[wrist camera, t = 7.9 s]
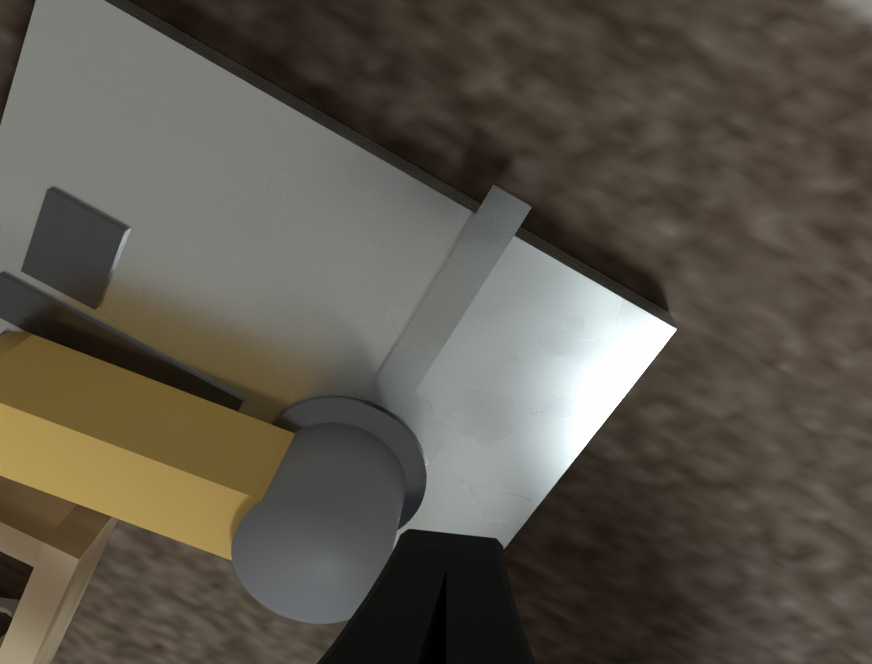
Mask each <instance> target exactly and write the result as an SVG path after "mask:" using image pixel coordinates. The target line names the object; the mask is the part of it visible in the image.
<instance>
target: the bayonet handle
mask: <svg viewBox="0 0 872 664" xmlns="http://www.w3.org/2000/svg"><path fill="white" fill-rule="evenodd" d="M0 476H3V477H5V478H8V479H11V480H13V481H16V482H19V483H22V484H24V485H27V486H30V487H33V488H35V489H38V490H41V491H44V492H46V493H49V494H52V495H54V496H57V497H60V498H63V499H65V500H68V501H71V502H74V503H76V504H79V505H82V506H84V507H87V508H90V509H93V510H95V511H98V512H101V513H104V514H106V515H109V516H112V517H115V518H117V519H120V520H123V521H125V522H128V523H131V524H134V525H136V526H139V527H142V528H145V529H147V530H150V531H153V532H155V533H158V534H161V535H164V536H166V537H169V538H172V539H175V540H177V541H180V542H183V543H186V544H188V545H191V546H194V547H196V548H199V549H202V550H205V551H207V552H210V553H213V554H216V555H218V556H221V557H224V558H226V559H229V560H232V563H233V567H234V570H235V572H236V575H237V577H238V579H239V580H240V582H241V584H242V585H243V586H244V588H245V589H246V590H247V591H248V592H249V594H250V595H251V596H252V597H253V598H255V599H256V600H257V601H258V602H259V603H261V604H262V605H263V606H265V607H266V608H268V609H269V610H271V611H273V612H275V613H277V614H279V615H282V616H284V617H286V618H289V619H293V620H296V621H301V622H305V623H314V624H328V623H336V622H341V621H345V620H348V619H351V617H352V616H353V615H354V613H355V612H356V610H357V609H358V607H359V606H360V604H361V603H362V602H363V600H364V599H365V597H366V596H367V594H368V592H369V591H370V589H371V588H372V586H373V584H374V583H375V581H376V580H377V578H378V576H379V575H380V573H381V571H382V570H383V568H384V566H385V564H386V563H387V561H388V559H389V557H390V555H391V553H392V551H393V546H394V542H395V538H396V533H397V529H398V525H399V520H400V516H401V512H402V507H403V503H404V499H405V493H406V479H405V474H404V471H403V468H402V465H401V463H400V461H399V459H398V458H397V456H396V455H395V453H394V452H393V451H392V450H391V449H390V447H389V446H387V445H386V444H385V443H384V442H383V441H382V440H381V439H379V438H378V437H377V436H375V435H373V434H372V433H370V432H368V431H366V430H364V429H361V428H359V427H356V426H352V425H348V424H343V423H319V424H314V425H310V426H307V427H304V428H302V429H300V430H298V431H296V432H295V433H292V432H290V431H287V430H284V429H282V428H279V427H276V426H274V425H271V424H269V423H266V422H263V421H261V420H258V419H255V418H253V417H250V416H247V415H245V414H242V413H239V412H237V411H234V410H232V409H229V408H226V407H224V406H221V405H218V404H216V403H213V402H210V401H208V400H205V399H203V398H200V397H197V396H195V395H192V394H189V393H187V392H184V391H181V390H179V389H176V388H174V387H171V386H168V385H166V384H163V383H160V382H158V381H155V380H152V379H150V378H147V377H144V376H142V375H139V374H137V373H134V372H131V371H129V370H126V369H123V368H121V367H118V366H115V365H113V364H110V363H108V362H105V361H102V360H100V359H97V358H94V357H92V356H89V355H86V354H84V353H81V352H78V351H76V350H73V349H71V348H68V347H65V346H63V345H60V344H57V343H55V342H52V341H49V340H47V339H44V338H42V337H39V336H36V335H34V334H31V333H27V332H21V331H13V332H8V333H5V334H3V335H1V336H0Z"/></svg>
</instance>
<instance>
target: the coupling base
mask: <svg viewBox="0 0 872 664" xmlns="http://www.w3.org/2000/svg"><path fill="white" fill-rule="evenodd" d="M531 208H532V206H531V205H530V204H528V203H526V202H524V201H523V200H521V199H519V198H518V197H516V196H514V195H512V194H511V193H509V192H507V191H506V190H504V189H502V188H500V187H499V186H497V185H495V184H493V185H492V187H491V189H490V190H489V192H488V194H487V195H486V197H485V199H484V200H483V202H482V203H479V202H477V201H476V200H474V199H472V198H470V197H469V196H467V195H465V194H463V193H462V192H460V191H458V190H456V189H455V188H453V187H451V186H450V185H448V184H446V183H444V182H443V181H441V180H439V179H437V178H436V177H434V176H432V175H430V174H429V173H427V172H425V171H423V170H422V169H420V168H418V167H417V166H415V165H413V164H411V163H410V162H408V161H406V160H404V159H403V158H401V157H399V156H397V155H396V154H394V153H392V152H391V151H389V150H387V149H385V148H384V147H382V146H380V145H378V144H377V143H375V142H373V141H371V140H370V139H368V138H366V137H365V136H363V135H361V134H359V133H358V132H356V131H354V130H352V129H351V128H349V127H347V126H345V125H344V124H342V123H340V122H338V121H337V120H335V119H333V118H332V117H330V116H328V115H326V114H325V113H323V112H321V111H319V110H318V109H316V108H314V107H312V106H311V105H309V104H307V103H306V102H304V101H302V100H300V99H299V98H297V97H295V96H293V95H292V94H290V93H288V92H286V91H285V90H283V89H281V88H280V87H278V86H276V85H274V84H273V83H271V82H269V81H267V80H266V79H264V78H262V77H260V76H259V75H257V74H255V73H253V72H252V71H250V70H248V69H247V68H245V67H243V66H241V65H240V64H238V63H236V62H234V61H233V60H231V59H229V58H227V57H226V56H224V55H222V54H221V53H219V52H217V51H215V50H214V49H212V48H210V47H208V46H207V45H205V44H203V43H201V42H200V41H198V40H196V39H195V38H193V37H191V36H189V35H188V34H186V33H184V32H182V31H181V30H179V29H177V28H175V27H174V26H172V25H170V24H168V23H167V22H165V21H163V20H162V19H160V18H158V17H156V16H155V15H153V14H151V13H149V12H148V11H146V10H144V9H142V8H141V7H139V6H137V5H136V4H134V3H132V2H130V1H129V0H36V1H35V5H34V8H33V12H32V16H31V19H30V23H29V26H28V30H27V33H26V37H25V40H24V44H23V47H22V51H21V54H20V58H19V61H18V65H17V68H16V72H15V75H14V79H13V82H12V86H11V89H10V93H9V97H8V100H7V104H6V107H5V111H4V114H3V118H2V121H1V125H0V336H1V335H3V334H5V333H8V332H13V331H21V332H27V333H31V334H34V335H36V336H39V337H42V338H44V339H47V340H49V341H52V342H55V343H57V344H60V345H63V346H65V347H68V348H71V349H73V350H76V351H78V352H81V353H84V354H86V355H89V356H92V357H94V358H97V359H100V360H102V361H105V362H108V363H110V364H113V365H115V366H118V367H121V368H123V369H126V370H129V371H131V372H134V373H137V374H139V375H142V376H144V377H147V378H150V379H152V380H155V381H158V382H160V383H163V384H166V385H168V386H171V387H174V388H176V389H179V390H181V391H184V392H187V393H189V394H192V395H195V396H197V397H200V398H203V399H205V400H208V401H210V402H213V403H216V404H218V405H221V406H224V407H226V408H229V409H232V410H234V411H237V412H239V413H242V414H245V415H247V416H250V417H253V418H255V419H258V420H261V421H263V422H266V423H269V424H271V425H274V426H276V427H279V428H282V429H284V430H287V431H290V432H292V433H295V432H296V431H298V430H300V429H302V428H304V427H307V426H310V425H314V424H319V423H343V424H348V425H352V426H356V427H359V428H361V429H364V430H366V431H368V432H370V433H372V434H373V435H375V436H377V437H378V438H379V439H381V440H382V441H383V442H384V443H385V444H386V445H387V446H389V447H390V449H391V450H392V451H393V452H394V453H395V455H396V456H397V458H398V459H399V461H400V463H401V465H402V468H403V471H404V474H405V479H406V493H405V499H404V503H403V507H402V512H401V516H400V520H399V525H398V529H397V533H396V538H395V542H394V546H393V549H394V548H395V545H396V543H397V541H398V539H399V536H400V534H402V533H403V532H405V531H406V530H407V529H418V530H427V531H436V532H445V533H454V534H463V535H472V536H481V537H490V538H497V540H498V541H499V542H500V543H501V544H502V545H503V548H504V549H505V547H506V546H507V545H508V544H509V542H510V541H511V540H512V539H513V537H514V536H515V535H516V533H517V532H518V531H519V530H520V528H521V527H522V526H523V525H524V523H525V522H526V521H527V520H528V518H529V517H530V516H531V514H532V513H533V512H534V511H535V509H536V508H537V507H538V506H539V504H540V503H541V502H542V500H543V499H544V498H545V497H546V495H547V494H548V493H549V492H550V490H551V489H552V488H553V486H554V485H555V484H556V483H557V481H558V480H559V479H560V478H561V476H562V475H563V474H564V472H565V471H566V470H567V469H568V467H569V466H570V465H571V464H572V462H573V461H574V460H575V458H576V457H577V456H578V455H579V453H580V452H581V451H582V450H583V448H584V447H585V446H586V444H587V443H588V442H589V441H590V439H591V438H592V437H593V436H594V434H595V433H596V432H597V430H598V429H599V428H600V427H601V425H602V424H603V423H604V422H605V420H606V419H607V418H608V416H609V415H610V414H611V413H612V411H613V410H614V409H615V408H616V406H617V405H618V404H619V402H620V401H621V400H622V399H623V397H624V396H625V395H626V394H627V392H628V391H629V390H630V388H631V387H632V386H633V385H634V383H635V382H636V381H637V380H638V378H639V377H640V376H641V375H642V373H643V372H644V371H645V369H646V368H647V367H648V366H649V364H650V363H651V362H652V361H653V359H654V358H655V357H656V355H657V354H658V353H659V352H660V350H661V349H662V348H663V347H664V345H665V344H666V343H667V341H668V340H669V339H670V338H671V336H672V335H673V334H674V333H675V331H676V330H677V328H676V326H675V323H674V321H673V319H672V316H671V314H670V312H668V311H666V310H665V309H663V308H661V307H659V306H658V305H656V304H654V303H652V302H651V301H649V300H647V299H646V298H644V297H642V296H640V295H639V294H637V293H635V292H633V291H632V290H630V289H628V288H626V287H625V286H623V285H621V284H620V283H618V282H616V281H614V280H613V279H611V278H609V277H607V276H606V275H604V274H602V273H600V272H599V271H597V270H595V269H594V268H592V267H590V266H588V265H587V264H585V263H583V262H581V261H580V260H578V259H576V258H574V257H573V256H571V255H569V254H567V253H566V252H564V251H562V250H561V249H559V248H557V247H555V246H554V245H552V244H550V243H548V242H547V241H545V240H543V239H541V238H540V237H538V236H536V235H535V234H533V233H531V232H529V231H528V230H526V229H524V228H522V227H521V226H520V225H521V224H522V222H523V221H524V219H525V217H526V216H527V214H528V213H529V211H530V209H531Z"/></svg>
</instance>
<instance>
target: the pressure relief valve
mask: <svg viewBox="0 0 872 664" xmlns="http://www.w3.org/2000/svg"><path fill="white" fill-rule="evenodd" d="M19 602H20V600H17V599H9V598H1V597H0V612H4V613H7V614H8V615H9V616H11V617H12V618H13V617H14V614H15V612H16V609H17V607H18V605H19ZM6 634H7V632H6ZM6 634H5V635H4V636H2V637H1V638H0V648H1V646H2V643H3V641H4V638H5V636H6Z"/></svg>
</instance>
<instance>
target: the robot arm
mask: <svg viewBox="0 0 872 664" xmlns="http://www.w3.org/2000/svg"><path fill="white" fill-rule="evenodd" d="M317 664H535V662H534V659H533V656H532V654H531V651H530V648H529V645H528V643H527V640H526V637H525V634H524V632H523V629H522V626H521V622H520V619H519V616H518V613H517V610H516V606H515V602H514V599H513V595H512V592H511V588H510V584H509V580H508V575H507V570H506V565H505V559H504V548H503V545H502V544H501V543H500V542H499V541H498V540H497V538H490V537H481V536H472V535H463V534H454V533H445V532H436V531H427V530H418V529H407V530H406V531H405V532H403V533H402V534H400V536H399V539H398V541H397V543H396V545H395V548H394V549H393V551H392V553H391V555H390V557H389V559H388V561H387V563H386V564H385V566H384V568H383V570H382V571H381V573H380V575H379V576H378V578H377V580H376V581H375V583H374V584H373V586H372V588H371V589H370V591H369V592H368V594H367V596H366V597H365V599H364V600H363V602H362V603H361V604H360V606H359V607H358V609H357V610H356V612H355V613H354V615H353V616H352V617H351V619H350V620H349V622H348V623H347V625H346V626H345V628H344V629H343V630H342V632H341V633H340V635H339V636H338V637H337V639H336V640H335V642H334V643H333V644H332V646H331V647H330V648H329V649H328V651H327V652H326V653H325V654H324V656H323V657H322V658H321V659H320V661H319V662H318V663H317Z"/></svg>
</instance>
